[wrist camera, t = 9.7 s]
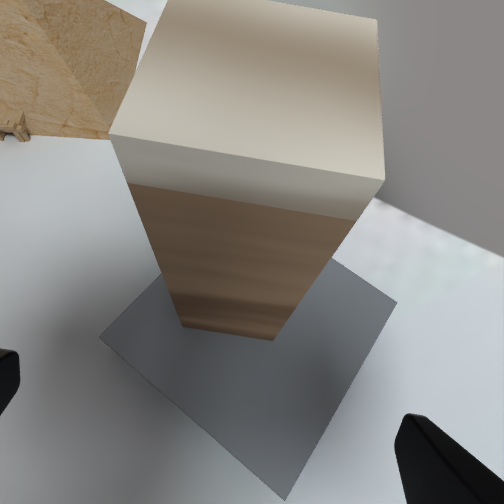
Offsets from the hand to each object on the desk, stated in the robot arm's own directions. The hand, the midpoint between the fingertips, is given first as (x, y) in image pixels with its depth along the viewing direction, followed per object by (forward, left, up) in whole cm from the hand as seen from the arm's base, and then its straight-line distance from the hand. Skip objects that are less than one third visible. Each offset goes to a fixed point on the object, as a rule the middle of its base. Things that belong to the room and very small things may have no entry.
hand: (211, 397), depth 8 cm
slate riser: (+1, -5, -13) cm, 14 cm away
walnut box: (+3, -5, -10) cm, 12 cm away
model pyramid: (+30, -12, -14) cm, 35 cm away
